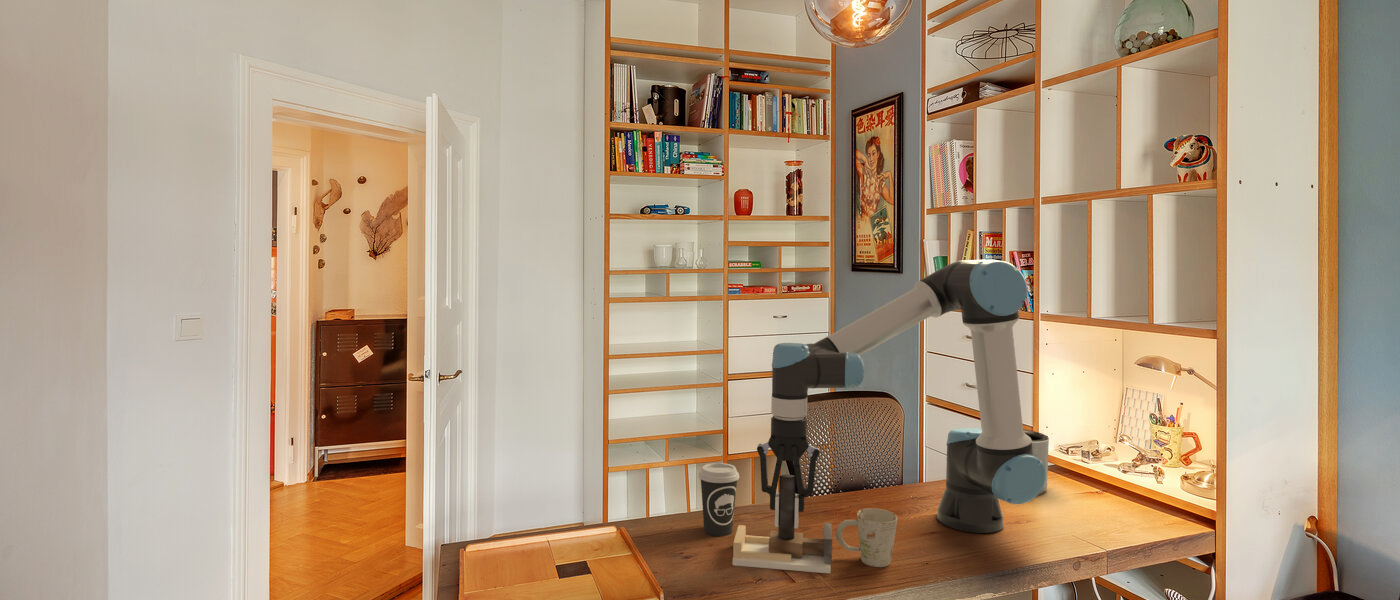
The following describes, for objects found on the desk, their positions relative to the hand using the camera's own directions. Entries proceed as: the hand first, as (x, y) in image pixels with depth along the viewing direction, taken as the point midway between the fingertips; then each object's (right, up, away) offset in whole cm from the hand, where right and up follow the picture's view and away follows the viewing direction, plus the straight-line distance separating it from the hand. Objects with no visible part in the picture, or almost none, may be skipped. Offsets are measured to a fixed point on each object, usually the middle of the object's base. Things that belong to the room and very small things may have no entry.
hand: (786, 525), depth 149 cm
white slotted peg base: (-1, -7, +1) cm, 7 cm away
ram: (+3, -6, 0) cm, 6 cm away
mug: (+17, -8, 0) cm, 18 cm away
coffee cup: (-14, -6, +15) cm, 22 cm away
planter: (+72, -6, +51) cm, 88 cm away
